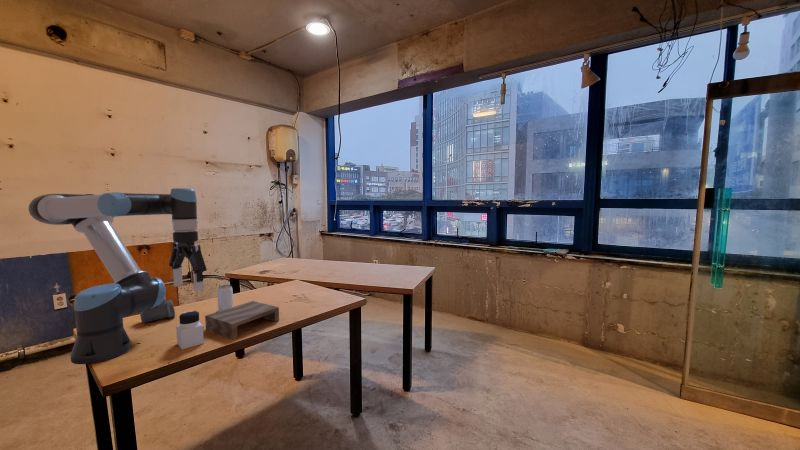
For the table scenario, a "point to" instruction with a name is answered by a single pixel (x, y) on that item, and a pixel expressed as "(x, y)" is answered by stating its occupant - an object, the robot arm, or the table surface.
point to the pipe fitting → (158, 312)
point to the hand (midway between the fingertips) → (188, 288)
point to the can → (225, 297)
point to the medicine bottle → (189, 330)
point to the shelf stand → (239, 317)
